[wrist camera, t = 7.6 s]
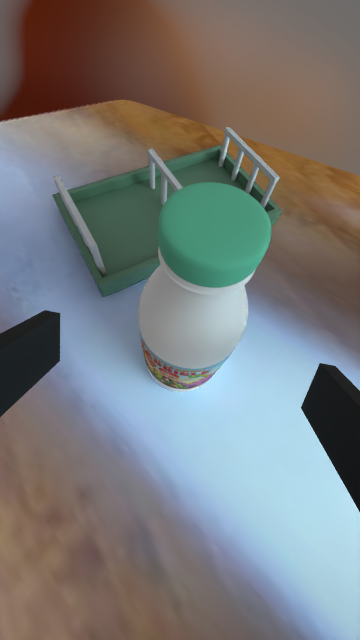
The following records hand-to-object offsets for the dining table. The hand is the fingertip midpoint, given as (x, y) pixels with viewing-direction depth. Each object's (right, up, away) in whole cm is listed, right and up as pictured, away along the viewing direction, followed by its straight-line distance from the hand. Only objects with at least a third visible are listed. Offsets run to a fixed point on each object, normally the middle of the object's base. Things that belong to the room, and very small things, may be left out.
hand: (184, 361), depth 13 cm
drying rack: (-2, +17, +24) cm, 29 cm away
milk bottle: (0, -2, +15) cm, 16 cm away
